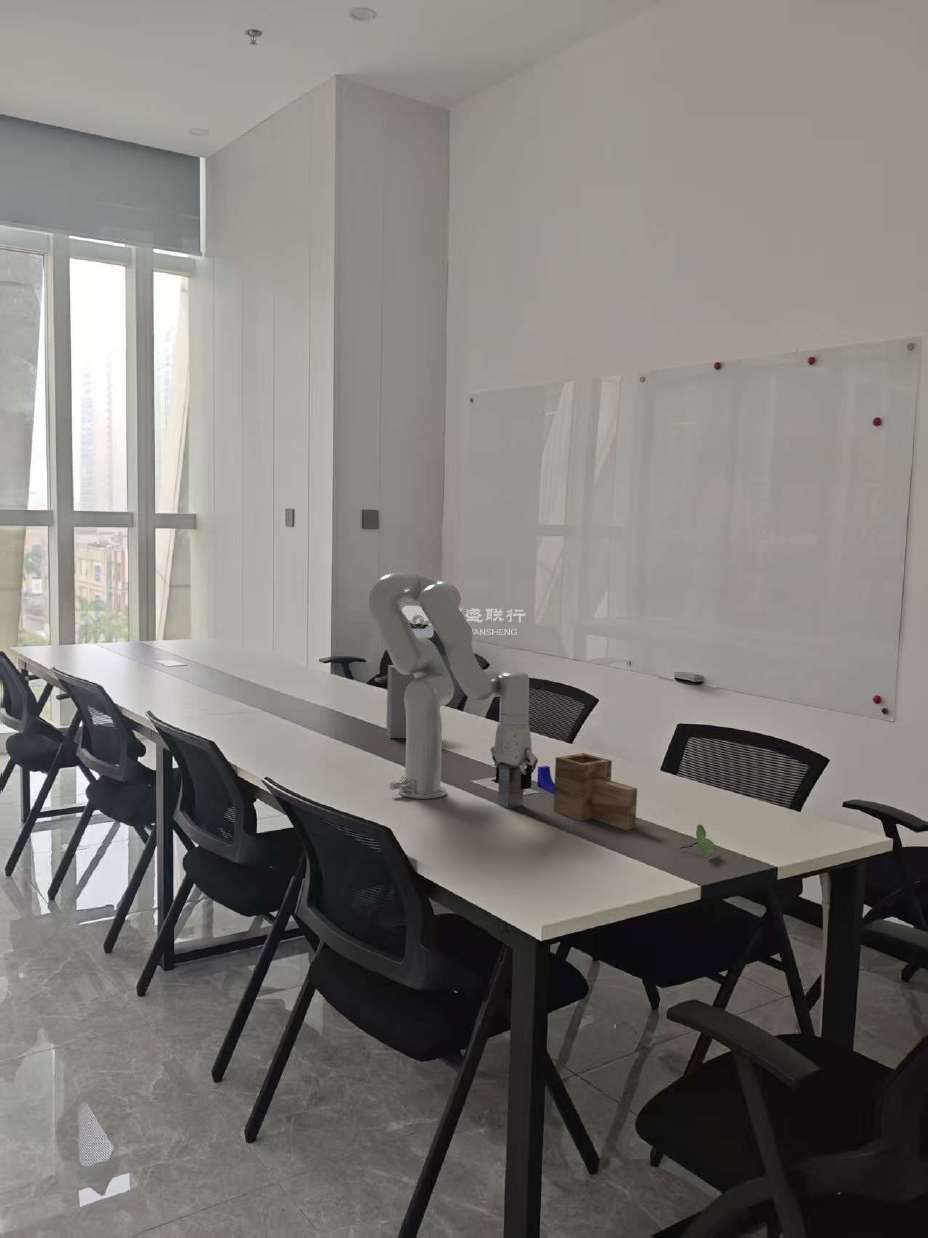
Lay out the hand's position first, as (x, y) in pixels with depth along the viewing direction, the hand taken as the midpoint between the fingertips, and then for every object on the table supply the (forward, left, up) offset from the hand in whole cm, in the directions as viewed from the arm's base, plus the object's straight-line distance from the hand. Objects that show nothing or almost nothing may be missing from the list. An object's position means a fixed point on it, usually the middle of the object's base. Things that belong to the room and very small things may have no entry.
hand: (513, 785), depth 266 cm
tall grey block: (+25, +83, -6) cm, 86 cm away
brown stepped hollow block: (+11, -14, -6) cm, 19 cm away
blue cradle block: (+20, +5, -6) cm, 21 cm away
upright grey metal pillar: (0, +1, -6) cm, 6 cm away
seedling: (+9, -48, -6) cm, 49 cm away
